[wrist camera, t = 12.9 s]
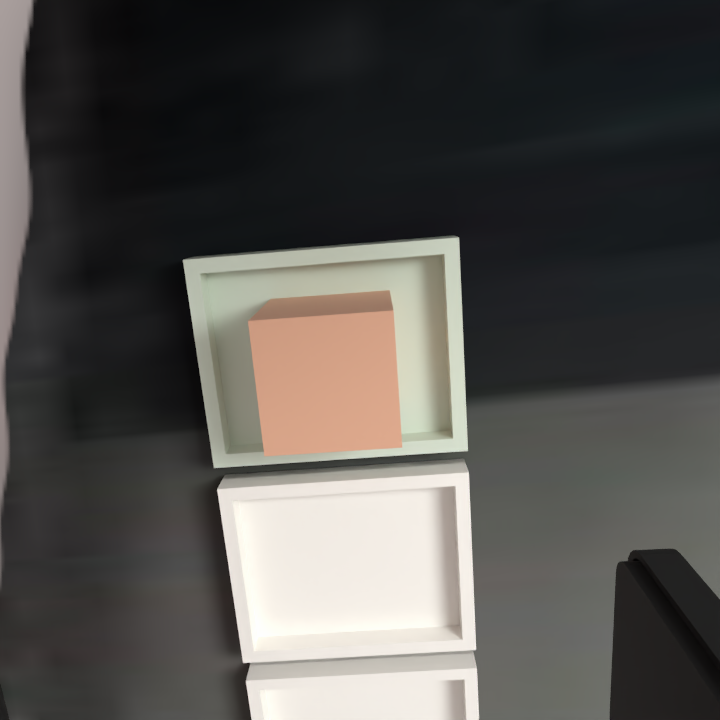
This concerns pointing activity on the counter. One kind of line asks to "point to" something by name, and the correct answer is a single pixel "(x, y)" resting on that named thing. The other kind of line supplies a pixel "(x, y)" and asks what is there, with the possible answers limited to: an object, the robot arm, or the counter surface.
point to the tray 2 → (350, 560)
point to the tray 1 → (325, 277)
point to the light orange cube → (326, 373)
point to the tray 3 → (366, 688)
